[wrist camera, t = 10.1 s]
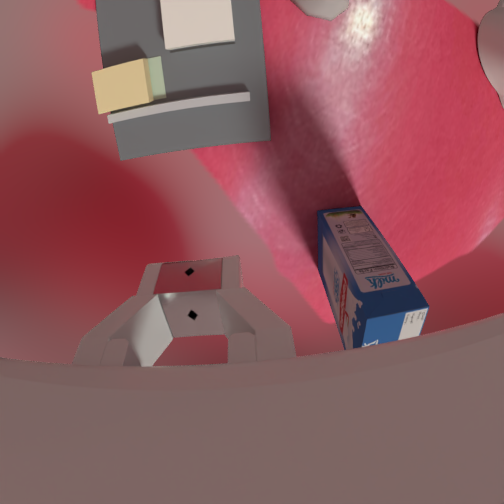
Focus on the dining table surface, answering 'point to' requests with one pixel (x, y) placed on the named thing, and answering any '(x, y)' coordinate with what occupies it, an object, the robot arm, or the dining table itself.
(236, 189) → the dining table surface
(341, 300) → the milk carton
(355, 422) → the robot arm
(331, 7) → the flask
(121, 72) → the stub
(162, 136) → the ticket board
